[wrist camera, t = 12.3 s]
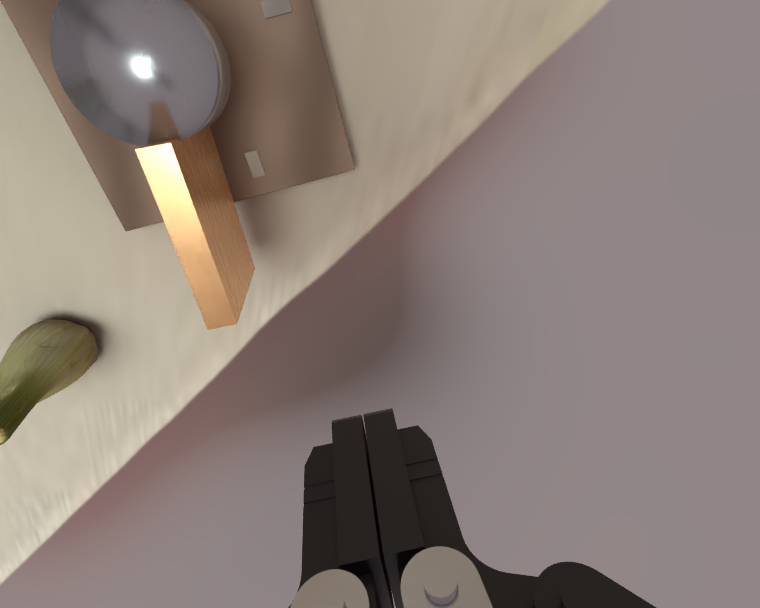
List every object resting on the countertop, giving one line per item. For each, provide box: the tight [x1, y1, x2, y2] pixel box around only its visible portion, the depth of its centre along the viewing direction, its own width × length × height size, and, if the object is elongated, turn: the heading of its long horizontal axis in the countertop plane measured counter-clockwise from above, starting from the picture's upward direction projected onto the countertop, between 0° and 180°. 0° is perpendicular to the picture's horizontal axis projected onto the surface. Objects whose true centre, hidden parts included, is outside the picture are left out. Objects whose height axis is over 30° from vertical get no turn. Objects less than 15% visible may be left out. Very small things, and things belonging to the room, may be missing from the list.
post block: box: [1, 0, 355, 231], centre depth 24 cm, size 16×16×6 cm
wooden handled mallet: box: [50, 0, 255, 330], centre depth 22 cm, size 15×6×8 cm, turn 10°
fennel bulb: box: [0, 319, 98, 445], centre depth 29 cm, size 6×5×12 cm
